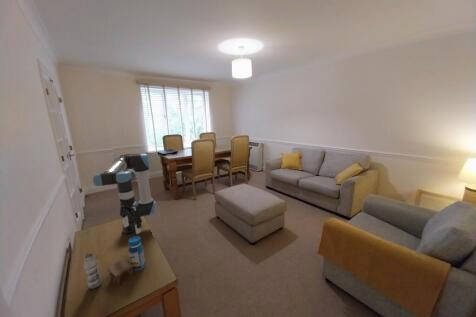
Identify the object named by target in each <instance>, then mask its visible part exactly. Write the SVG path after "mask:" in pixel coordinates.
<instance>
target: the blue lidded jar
mask: <svg viewBox="0 0 476 317" xmlns="http://www.w3.org/2000/svg"><path fill="white" fill-rule="evenodd" d="M141 242H142V240H141V237H140V236H139V235H136V236H135V235H134V236H132V237H129V239H128V242H127V243H128V246H129V247H128V256H129V259H130V261H129V262H131V263H132V264H133V266H132V270H133V272H134V271H137V272H138V271H140V270H142V269H143V268H145V266H146V264H147V263H146V259H145V250H144V246H143V244H142V243H141Z"/></svg>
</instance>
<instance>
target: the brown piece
mask: <svg viewBox="0 0 476 317" xmlns="http://www.w3.org/2000/svg"><path fill="white" fill-rule="evenodd" d="M132 266H133V264H132V263H131V261H129V260H128V259H126V258H125V257H124V258H122V259H121V260H119V261H117V262H116V263H114V264H112V265H110V266H109V267H108V268H107V267H106V270H107V271H108V272H109V277H110V280H115V281H116V284H117V286H118V285H121V279H120V276H121V275H122V274H123V273H125V272H127V271H128V272H129V275H130V276H133V275H134V270H132Z"/></svg>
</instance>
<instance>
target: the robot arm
mask: <svg viewBox="0 0 476 317" xmlns="http://www.w3.org/2000/svg"><path fill="white" fill-rule="evenodd" d="M150 168H152V164H151V159H150V157H149V155H148V154H147V153H134V154H125V155H122V156H120V157H118V158H116V159H115V160H114V161H113V162H112V164H111V165H110V166H109V167H108V168H107V169H106V170H104V171H103V172H102V173H96V174H94V175H93V178H92V181H93V185H94V186H95V187H105V186H114V185H116V186H117V191H118V197H119V203H120V207H119V208H120V209H119V216H121V218H122V227H121V232H122V234H125V235H130V234H134V233H135V234H136V235H138V234H139V233H141V232H142V228H143V224H142V223H143V220H142V217H148V216H152V215H153V216H154V215H155V214H156V212H157V210H156V209H157V201H156V200H154V198H153V197H152V193H151V187H150V179H149V173H148V172H149V170H150ZM135 180H136V181H137V189H138V194H139V201H138V202H137V201H136V200H135V191H134V188H133V182H134V181H135Z"/></svg>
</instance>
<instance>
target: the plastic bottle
mask: <svg viewBox="0 0 476 317" xmlns="http://www.w3.org/2000/svg"><path fill="white" fill-rule="evenodd" d="M83 269H84V273H85V274H86V278H87V281H86V282H87V287H88V288H89V289H92V290H93V289H96V288H98V287H99V286H100V285H101V284H102V281H103V280H102V276H101V275H100V271H99V260H97V259H96V258H95V257H94V255H93V253H88V254H86V255H84V263H83Z"/></svg>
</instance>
